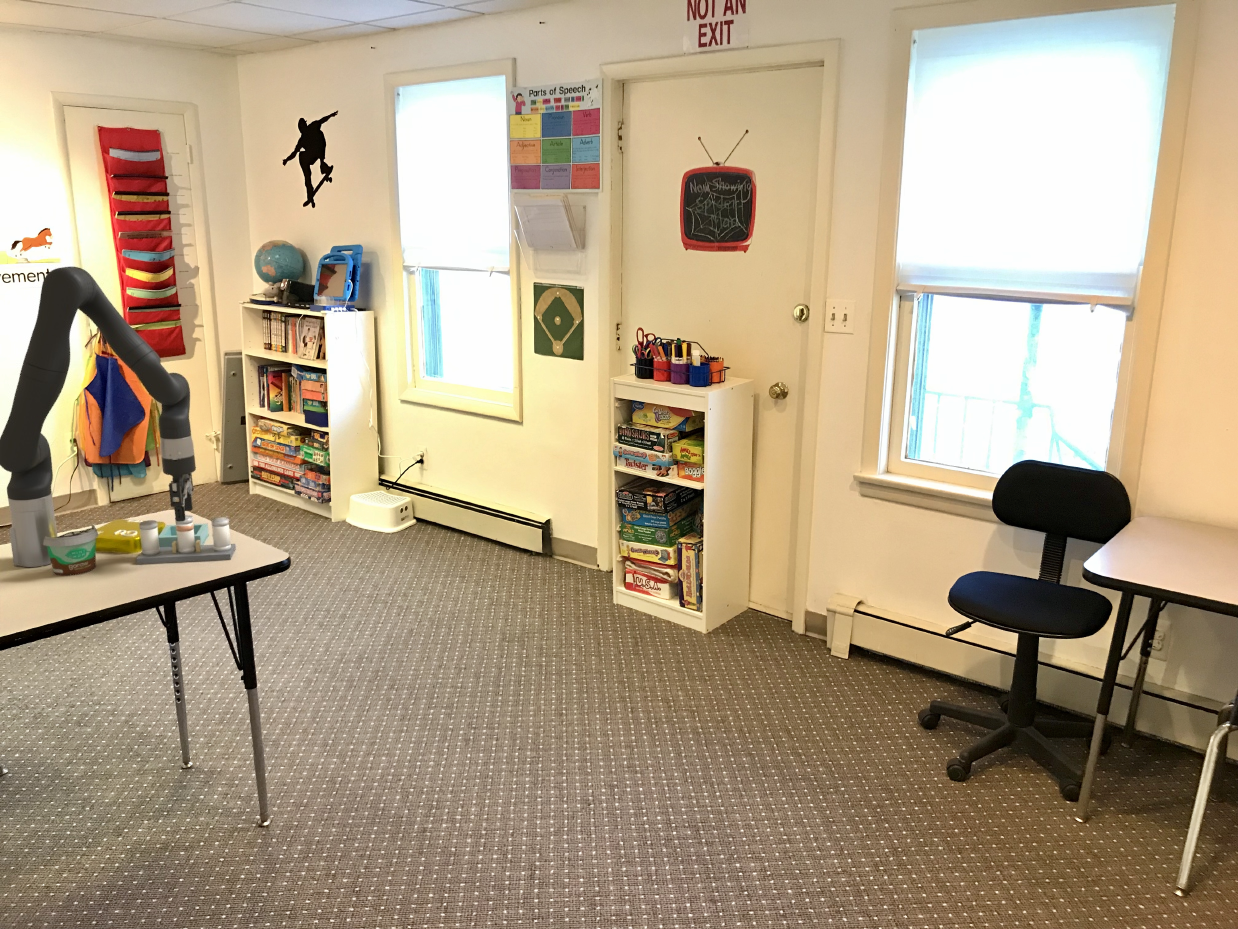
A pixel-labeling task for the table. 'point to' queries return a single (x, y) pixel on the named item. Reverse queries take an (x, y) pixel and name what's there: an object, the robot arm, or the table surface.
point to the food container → (73, 552)
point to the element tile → (122, 536)
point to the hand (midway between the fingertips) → (184, 515)
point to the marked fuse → (185, 535)
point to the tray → (171, 534)
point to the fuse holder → (170, 554)
